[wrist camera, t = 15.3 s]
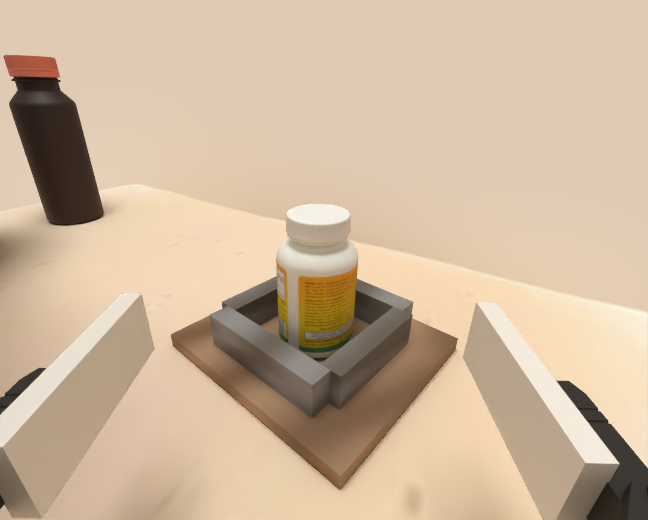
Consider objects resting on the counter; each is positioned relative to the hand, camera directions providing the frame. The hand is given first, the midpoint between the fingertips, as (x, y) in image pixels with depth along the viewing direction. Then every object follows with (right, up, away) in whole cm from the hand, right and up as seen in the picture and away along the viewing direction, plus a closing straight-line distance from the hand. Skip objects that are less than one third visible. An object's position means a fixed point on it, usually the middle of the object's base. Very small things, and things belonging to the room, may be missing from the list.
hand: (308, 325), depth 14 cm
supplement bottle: (0, -3, +12) cm, 13 cm away
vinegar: (-35, +9, +37) cm, 51 cm away
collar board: (0, -4, +13) cm, 13 cm away
